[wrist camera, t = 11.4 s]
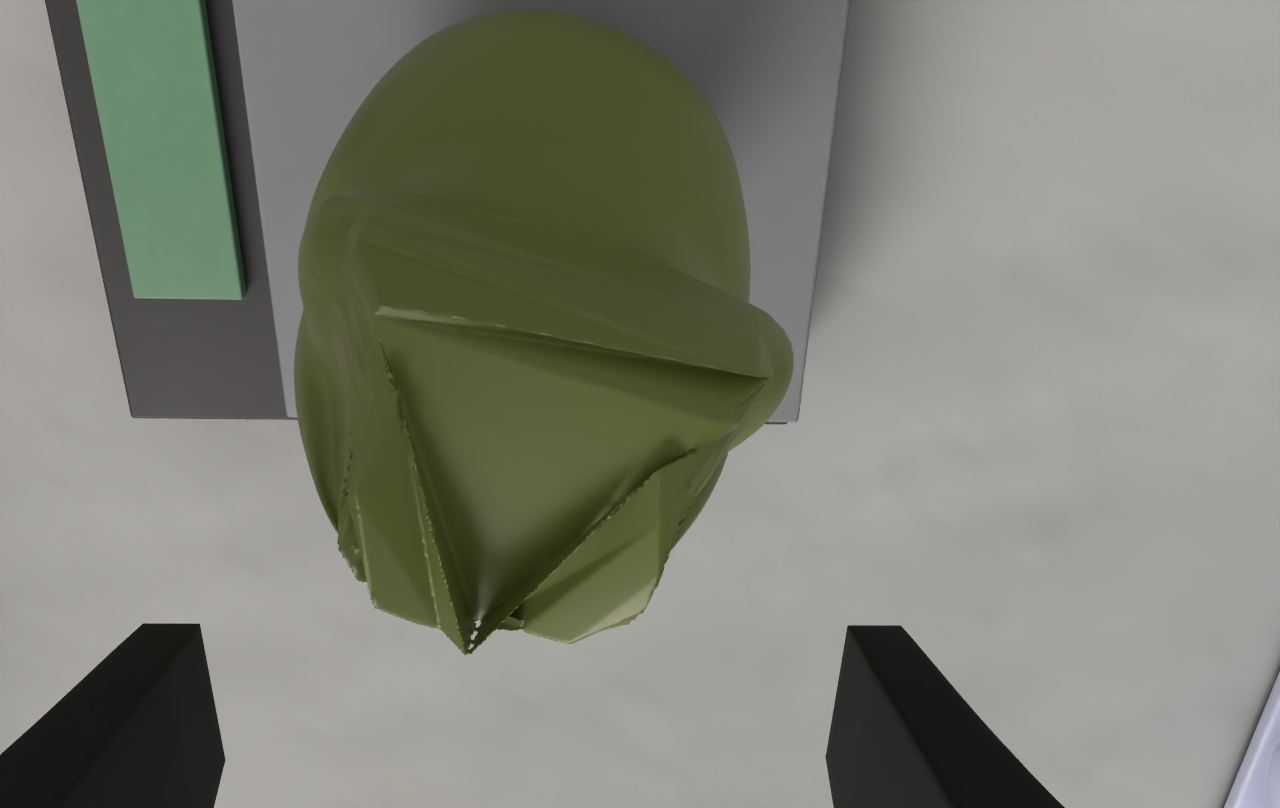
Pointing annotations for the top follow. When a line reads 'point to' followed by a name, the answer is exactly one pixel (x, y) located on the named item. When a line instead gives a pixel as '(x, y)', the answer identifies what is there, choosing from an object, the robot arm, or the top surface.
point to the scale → (311, 127)
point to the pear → (527, 327)
